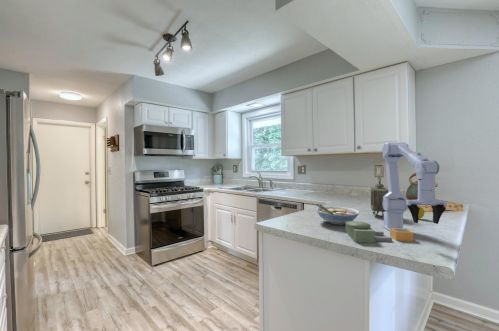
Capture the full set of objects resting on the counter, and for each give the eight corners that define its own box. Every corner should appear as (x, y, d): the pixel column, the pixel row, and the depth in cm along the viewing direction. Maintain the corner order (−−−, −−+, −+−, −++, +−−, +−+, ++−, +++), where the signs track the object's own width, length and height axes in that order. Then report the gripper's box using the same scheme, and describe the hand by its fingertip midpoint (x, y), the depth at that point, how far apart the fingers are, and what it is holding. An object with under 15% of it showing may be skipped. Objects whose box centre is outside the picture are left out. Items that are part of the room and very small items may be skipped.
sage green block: (342, 231, 118) (342, 219, 118) (380, 233, 116) (380, 220, 116) (351, 242, 103) (351, 228, 103) (395, 243, 101) (395, 229, 101)
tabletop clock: (370, 213, 160) (371, 175, 160) (386, 214, 157) (386, 176, 156) (373, 218, 147) (373, 177, 146) (390, 219, 143) (390, 177, 143)
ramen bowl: (368, 229, 122) (368, 213, 121) (322, 229, 122) (322, 213, 122) (349, 218, 147) (349, 204, 146) (311, 217, 147) (311, 204, 147)
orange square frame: (389, 236, 111) (389, 228, 111) (406, 237, 110) (406, 228, 110) (396, 240, 105) (396, 231, 105) (413, 241, 105) (413, 232, 104)
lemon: (419, 217, 147) (419, 204, 147) (426, 220, 142) (426, 206, 142) (410, 217, 147) (411, 204, 147) (417, 220, 142) (417, 206, 141)
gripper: (412, 191, 96) (412, 224, 96) (452, 191, 94) (451, 226, 94) (403, 188, 103) (402, 220, 103) (440, 189, 101) (439, 221, 101)
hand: (425, 222), depth 99 cm, fingers open, 7 cm apart
